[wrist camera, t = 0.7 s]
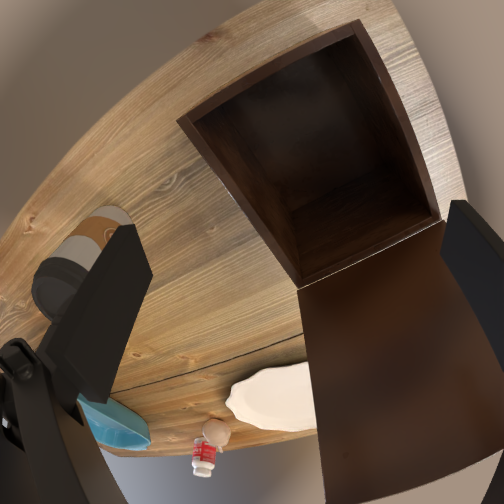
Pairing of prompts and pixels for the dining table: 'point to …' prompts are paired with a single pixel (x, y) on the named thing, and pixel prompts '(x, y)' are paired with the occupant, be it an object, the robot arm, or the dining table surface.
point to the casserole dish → (116, 424)
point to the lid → (399, 373)
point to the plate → (275, 398)
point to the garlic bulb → (216, 433)
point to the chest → (318, 153)
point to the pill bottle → (203, 457)
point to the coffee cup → (74, 259)
